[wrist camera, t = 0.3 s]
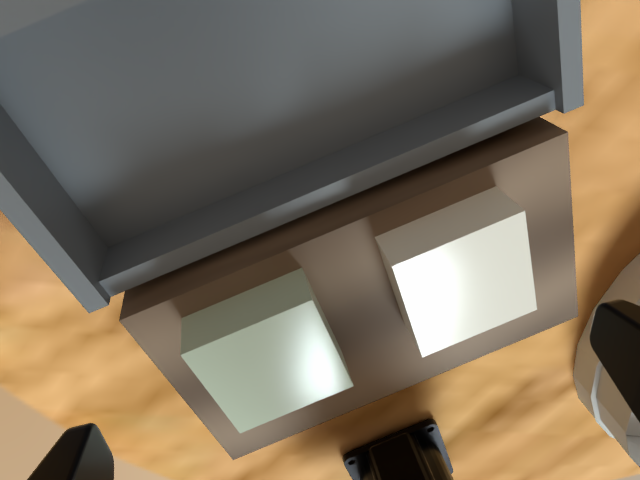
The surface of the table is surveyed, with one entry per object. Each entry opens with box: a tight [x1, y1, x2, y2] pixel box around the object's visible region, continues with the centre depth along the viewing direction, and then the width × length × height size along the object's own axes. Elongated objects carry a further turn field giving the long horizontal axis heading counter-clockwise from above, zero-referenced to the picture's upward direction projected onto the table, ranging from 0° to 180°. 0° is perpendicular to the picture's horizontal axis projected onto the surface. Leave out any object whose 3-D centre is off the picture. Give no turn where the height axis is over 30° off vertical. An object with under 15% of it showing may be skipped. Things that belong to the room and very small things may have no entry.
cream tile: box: [375, 186, 537, 357], centre depth 19 cm, size 5×5×2 cm
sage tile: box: [180, 268, 354, 433], centre depth 20 cm, size 5×5×2 cm
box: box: [0, 0, 584, 313], centre depth 17 cm, size 10×20×5 cm, turn 109°
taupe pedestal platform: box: [119, 117, 578, 460], centre depth 23 cm, size 10×18×4 cm, turn 109°
